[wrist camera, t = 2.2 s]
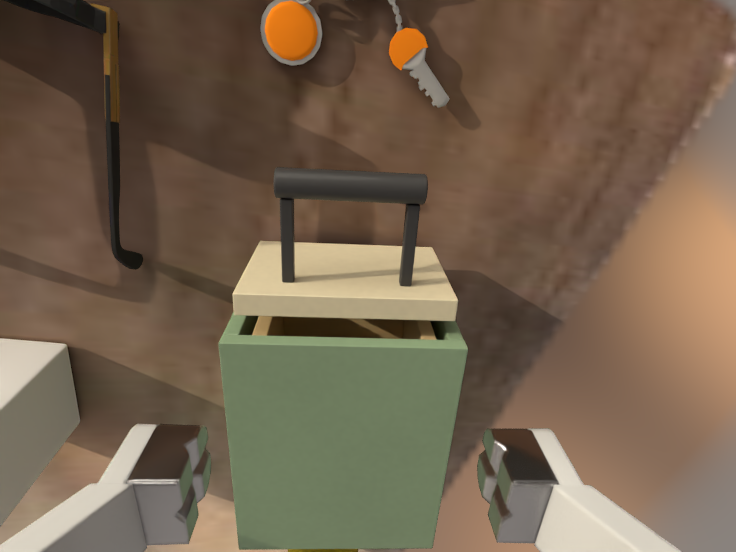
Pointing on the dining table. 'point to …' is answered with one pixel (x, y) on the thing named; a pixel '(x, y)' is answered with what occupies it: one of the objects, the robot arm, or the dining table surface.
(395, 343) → the cabinet
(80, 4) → the sunglasses
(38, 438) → the milk carton
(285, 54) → the key chain
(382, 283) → the drawer
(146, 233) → the dining table surface
